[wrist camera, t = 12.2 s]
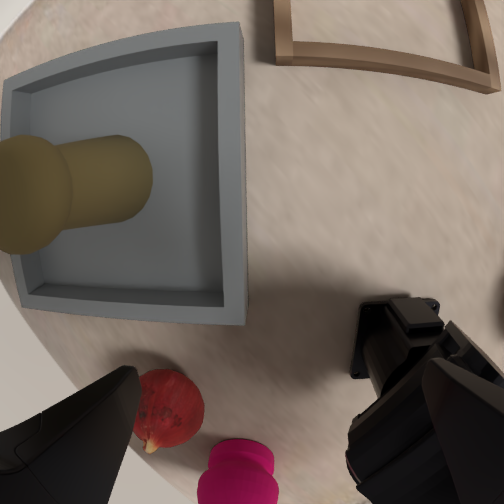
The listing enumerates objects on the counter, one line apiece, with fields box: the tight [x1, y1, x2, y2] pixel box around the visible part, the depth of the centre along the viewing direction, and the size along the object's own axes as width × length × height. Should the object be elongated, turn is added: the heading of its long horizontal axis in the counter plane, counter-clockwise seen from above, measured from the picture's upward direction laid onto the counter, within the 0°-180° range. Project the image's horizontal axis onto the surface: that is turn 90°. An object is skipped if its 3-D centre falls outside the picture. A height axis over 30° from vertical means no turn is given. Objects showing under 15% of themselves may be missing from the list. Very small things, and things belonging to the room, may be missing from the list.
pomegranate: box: [133, 369, 204, 454], centre depth 21 cm, size 6×6×8 cm
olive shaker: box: [0, 135, 153, 255], centre depth 15 cm, size 6×6×11 cm
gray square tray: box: [0, 22, 249, 325], centre depth 19 cm, size 18×18×3 cm
